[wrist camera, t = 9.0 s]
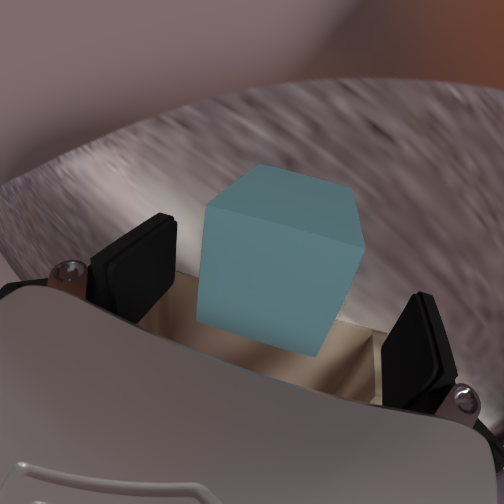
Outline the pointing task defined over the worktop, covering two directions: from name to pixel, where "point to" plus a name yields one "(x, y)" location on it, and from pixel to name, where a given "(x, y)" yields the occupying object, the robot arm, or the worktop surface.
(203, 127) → the worktop surface
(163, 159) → the worktop surface
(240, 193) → the teal block
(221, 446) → the robot arm
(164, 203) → the worktop surface
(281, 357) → the birch box
